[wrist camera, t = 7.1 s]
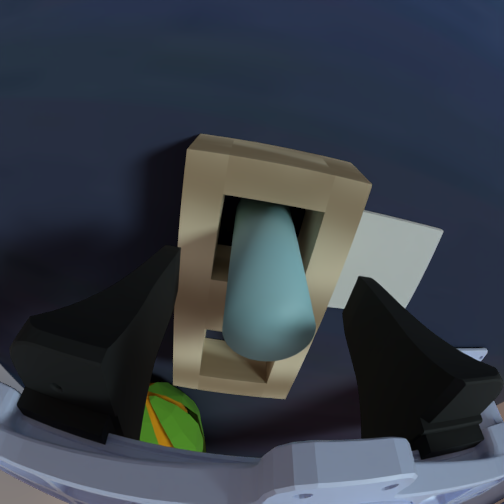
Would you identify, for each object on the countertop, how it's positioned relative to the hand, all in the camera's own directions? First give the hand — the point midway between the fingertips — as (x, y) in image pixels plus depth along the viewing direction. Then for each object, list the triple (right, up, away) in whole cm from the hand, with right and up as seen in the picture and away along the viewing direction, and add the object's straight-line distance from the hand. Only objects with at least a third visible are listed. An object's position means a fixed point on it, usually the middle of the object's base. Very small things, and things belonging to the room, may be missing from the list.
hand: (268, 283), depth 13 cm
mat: (+7, 0, +7) cm, 10 cm away
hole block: (-1, 0, +7) cm, 7 cm away
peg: (0, +3, +5) cm, 6 cm away
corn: (-9, -16, +17) cm, 25 cm away
